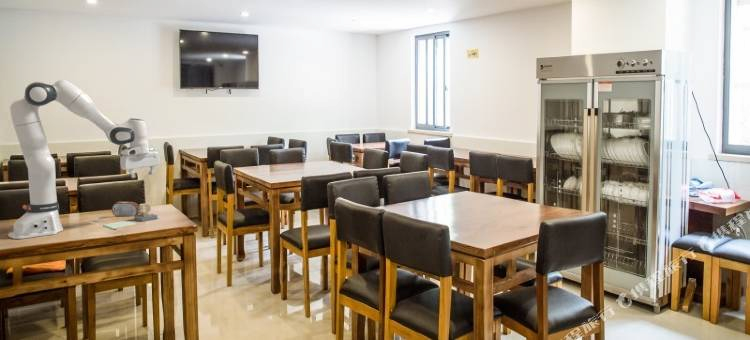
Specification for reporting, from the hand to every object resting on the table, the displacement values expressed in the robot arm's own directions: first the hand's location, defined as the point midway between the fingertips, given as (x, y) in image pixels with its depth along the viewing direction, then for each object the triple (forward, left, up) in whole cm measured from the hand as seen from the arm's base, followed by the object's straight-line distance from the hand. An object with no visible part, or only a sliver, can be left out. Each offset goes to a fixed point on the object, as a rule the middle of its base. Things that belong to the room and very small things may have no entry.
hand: (142, 176), depth 285 cm
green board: (-14, -2, -24) cm, 28 cm away
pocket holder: (0, -1, -24) cm, 24 cm away
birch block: (0, -1, -23) cm, 23 cm away
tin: (-2, +17, -24) cm, 29 cm away
